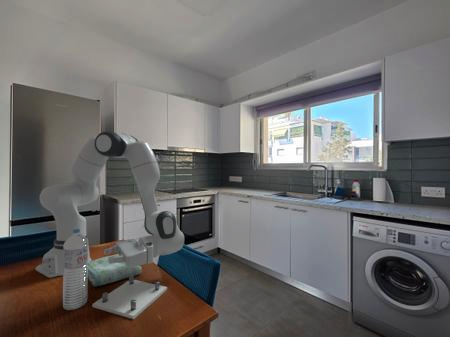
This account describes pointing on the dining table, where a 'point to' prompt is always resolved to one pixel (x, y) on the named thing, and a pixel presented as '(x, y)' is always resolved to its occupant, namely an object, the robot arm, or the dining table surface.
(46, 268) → the robot arm
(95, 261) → the towel
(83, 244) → the water bottle
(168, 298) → the dining table surface
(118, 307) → the bottle stand
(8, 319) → the dining table surface
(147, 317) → the dining table surface
